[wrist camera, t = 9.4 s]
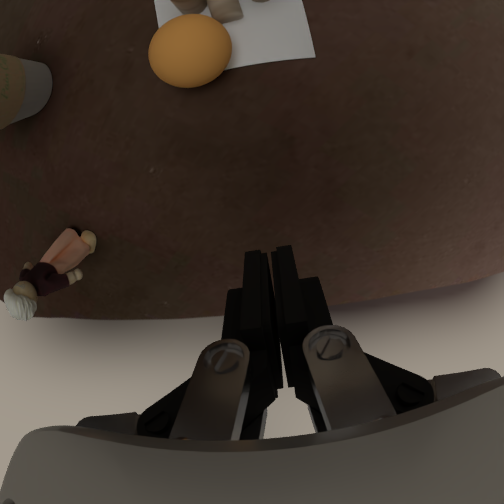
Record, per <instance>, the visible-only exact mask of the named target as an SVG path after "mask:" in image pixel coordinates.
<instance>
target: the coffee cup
mask: <svg viewBox="0 0 504 504" xmlns="http://www.w3.org/2000/svg"><path fill="white" fill-rule="evenodd" d="M51 91H52V75H51V72H50V69H49V68H48V66H46V65H45V64H43V63H40V62H35V61H30V60H25V59H19V58H18V57H15V56H10V55H4V54H0V130H1V129H3V128H5V127H6V126H8V125H9V124H11V123H14V122H16V121H19V120H22V119H24V118H27V117H30V116H32V115H34V114H36V113H38V112H39V111H40V110H41V109H42V108H43V107H44V106H45V105H46V103H47V101H48V100H49V97H50V95H51Z"/></svg>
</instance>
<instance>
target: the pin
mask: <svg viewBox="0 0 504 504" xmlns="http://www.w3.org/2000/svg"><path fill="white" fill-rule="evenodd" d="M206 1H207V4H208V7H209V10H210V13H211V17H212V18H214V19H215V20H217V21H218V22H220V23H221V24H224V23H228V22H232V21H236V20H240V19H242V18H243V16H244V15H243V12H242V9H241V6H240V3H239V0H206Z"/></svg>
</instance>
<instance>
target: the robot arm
mask: <svg viewBox="0 0 504 504" xmlns="http://www.w3.org/2000/svg"><path fill="white" fill-rule="evenodd" d="M276 249H277V251H274V252H271V257H272V268H273V279H274V291H275V296H274V291H273V285H272V280H271V274H270V269H269V263H268V258H267V253H261V251H260V250H255V251H249V252H245V260H244V274H243V288H237V289H230V290H228V293H227V300H226V308H225V315H224V323H223V330H222V338H221V340H219V341H216V342H213V343H212V344H210V345H208V346H207V347H206V348H205V349H204V350H203V351H202V352H201V354H200V356H199V358H198V361H197V363H196V366H195V369H194V371H193V374H192V377H191V378H189V379H188V380H187V381H185V382H184V383H182V384H181V385H180V386H179V387H177V388H176V389H174V390H173V391H172V392H170V393H169V394H167V395H166V396H164V397H163V398H162V399H160V400H159V401H158V402H156V403H155V404H153V405H152V406H150V407H149V408H147V409H146V410H145V411H144V412H143V413H142V414H141V415H138V414H137V413H136V412H132V413H124V414H116V415H115V414H114V415H103V416H90V417H86V418H84V419H82V420H81V421H79V423H78V424H77V425H76V426H50V427H44V428H40V429H36V430H34V431H31V432H29V433H28V434H26V435H25V436H24V437H23V438H22V440H21V441H20V442H19V444H18V446H17V448H16V450H15V452H14V454H13V456H12V458H11V461H10V463H9V466H8V468H7V472H6V475H5V477H4V481H3V484H2V487H1V491H0V504H504V377H501V376H500V374H499V373H497V372H496V371H495V370H493V369H490V368H483V369H477V370H472V371H467V372H460V373H453V374H446V375H439V376H434V377H433V379H432V380H426V379H425V378H423V377H421V376H419V375H417V374H414V373H412V372H410V371H407V370H405V369H402V368H400V367H397V366H395V365H393V364H390V363H388V362H385V361H383V360H381V359H379V358H376V357H374V356H372V355H369V354H367V353H364V352H363V351H362V349H361V347H360V345H359V343H358V342H357V340H356V338H355V336H354V335H353V334H352V333H351V332H350V331H349V330H347V329H346V328H344V327H341V326H337V325H333V324H332V320H331V317H330V313H329V310H328V307H327V303H326V300H325V297H324V294H323V290H322V287H321V284H320V281H319V278H318V277H311V278H304V279H299V278H298V274H297V269H296V264H295V260H294V256H293V251H292V247H291V245H287V246H281V247H276ZM280 343H281V348H282V354H283V359H284V365H285V371H286V377H287V382H288V387H295V394H296V398H298V399H299V400H301V401H303V402H304V403H306V404H308V410H309V413H310V416H311V420H312V423H313V426H314V429H315V432H316V433H313V434H307V435H299V436H291V437H282V438H271V439H263V436H264V430H265V424H266V418H267V407H268V406H269V405H270V404H271V403H272V402H274V400H275V398H278V391H277V389H281V388H283V376H282V362H281V351H280Z"/></svg>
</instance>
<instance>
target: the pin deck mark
mask: <svg viewBox="0 0 504 504" xmlns="http://www.w3.org/2000/svg"><path fill="white" fill-rule="evenodd" d="M154 2H155V8H156V14H157V19H158V25H159V28H160V27H161V26H162V25H164V24H165V23H166V22H168V21H169V20H171V19H173V18H175V17H178V16H181V15H184V14H182V13H181V12H180V11H179V10H178V8H177V7H176V6H175V5H174V4H173V3H172V2H171V1H170V0H154ZM239 3H240V6H241V9H242V12H243V15H244V16H243V18H242V19H240V20H236V21H232V22H228V23H224V24H222V25H223V26H224V27H225V28H226V30H227V31H228V33H229V35H230V38H231V42H232V54H231V58H230V61H229V63H228V65H227V67H226V68H225V69H224V70H227V69H232V68H237V67H242V66H248V65H254V64H261V63H267V62H275V61H283V60H292V59H304V58H315V52H314V48H313V43H312V39H311V34H310V30H309V26H308V22H307V18H306V14H305V10H304V7H303V3H302V0H269V1H267V2H262V3H260V2H254V1H252V0H239ZM200 14H202V15H206V16H209V17H211V13H210V10H209V7H208V4H207V6H206V8H205V10H204V11H203V12H201V13H200ZM211 18H212V17H211Z"/></svg>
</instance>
